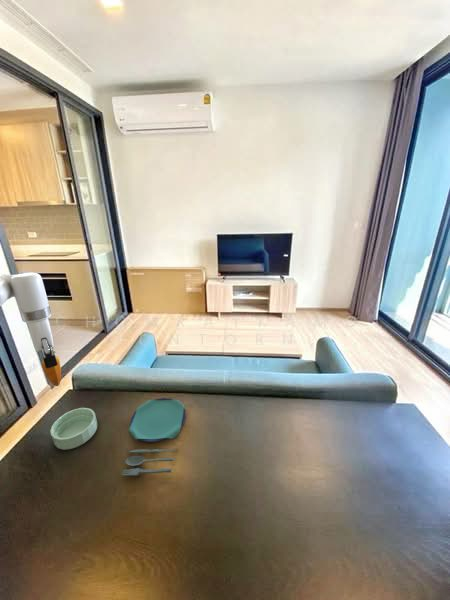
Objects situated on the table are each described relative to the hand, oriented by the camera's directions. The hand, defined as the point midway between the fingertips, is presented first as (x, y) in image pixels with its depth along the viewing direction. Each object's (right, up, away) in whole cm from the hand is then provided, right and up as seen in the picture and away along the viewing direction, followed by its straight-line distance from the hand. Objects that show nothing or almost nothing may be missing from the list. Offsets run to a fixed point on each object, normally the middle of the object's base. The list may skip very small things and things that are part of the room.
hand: (50, 362), depth 84 cm
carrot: (0, -9, +3) cm, 10 cm away
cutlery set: (+35, -26, +3) cm, 43 cm away
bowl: (+7, -26, +3) cm, 27 cm away
